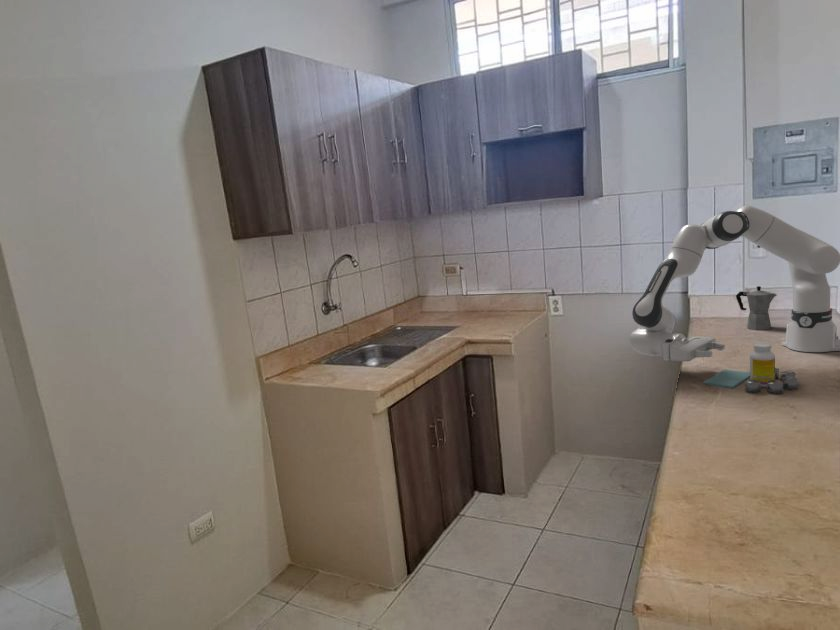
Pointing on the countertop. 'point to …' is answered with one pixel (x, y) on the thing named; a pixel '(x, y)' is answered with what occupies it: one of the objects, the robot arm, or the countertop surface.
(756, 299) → the coffeepot
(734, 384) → the mat
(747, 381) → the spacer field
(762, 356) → the supplement bottle
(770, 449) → the countertop surface
